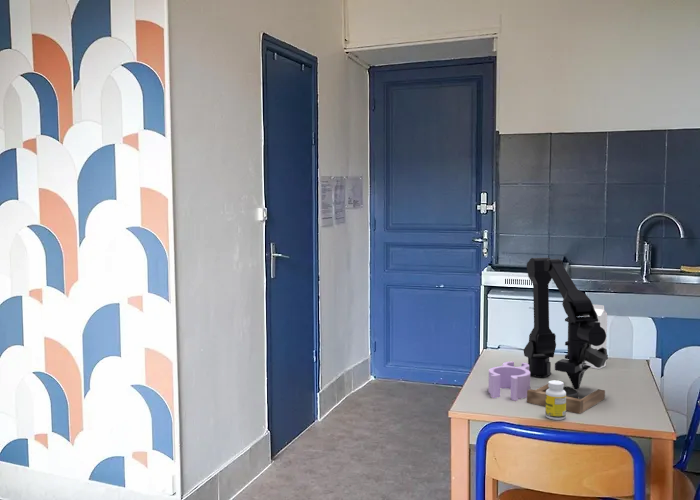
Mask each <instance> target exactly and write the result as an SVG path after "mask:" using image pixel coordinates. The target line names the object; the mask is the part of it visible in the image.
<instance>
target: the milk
mask: <svg viewBox="0 0 700 500" xmlns="http://www.w3.org/2000/svg"><path fill="white" fill-rule="evenodd" d="M592 304H593V303H592ZM593 307H594V309H595V312H596V313H597V315H598V316H597V318H598V322H600V327H602V328H603V329H604V330H605V333H606V339H605V341H604V343H603V344H601V345H600V346H594V345H591V348H593V349H597V350H599V349H600V348H602V347H603V348H605V349H607V340H608V339H607V335H608V334H607V333H608V313H607V311H606V310H605V305H603V304H602V305H601V304H593ZM583 317H586V316H583ZM585 363H586V365H588V366H591V367H590V368H589V369H596V370H601V369H603V368H604V367H606V366H607V360H606V361H605V364H604V366H601V367H600V368H598V367H595V366H594V365H593V364H591V363H589V362H587V361H585Z"/></svg>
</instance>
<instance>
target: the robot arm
mask: <svg viewBox="0 0 700 500" xmlns="http://www.w3.org/2000/svg"><path fill="white" fill-rule="evenodd" d="M526 271H527V277H528V279H529V280H530V282H531V283H532V285H533V290H532V292H533V328H532V330H531V331H530V333H529V337H528V342H527V343H526V345H525V347H524V348H523V355H524V357H526V358H527V364H529V371H530V377H531V376H532V377H537V378H542V379H544V378H546V377H549V376H550V375H552V372H551V369H552V367H551V366H552V364H551V363H552V362H551V361H550V358H554V357H555V354H556V353H555V352H556V347H557V342H556V341H557V340H556V337H557V336H556V333H554V332H553V331H552V330H551V328H550V297H549V296H550V295H549V294H550V293H549V289H550V288H549V285H550V283H551V280H552V281H553V283H554V284H555V286H556V287H557V289H558V292H559V293H560V295H561V296H562V303H561V305H562V307H563V310H564V312H565V314H566V315H567V317H566V318H564V322H567V341H565V343H564V346H567V353H566V354H565V355H564V358H562V359H560V360H558V361H556V362H555V363H554V371H556V372H557V371H558V372H563V373H566V374H567V376H568V378H569V381H570V383H571V384H572V387H573V389H575V390H577V391H578V390H580V386H581V384H582V380H583V377H584V374H585V372H586V371H587V370H589V369H591V368H590V367H591V366H588V365H586V363H585V361H587V362H589V363H591V364H593V365H594V366H595V367H598V368H600V367H601V366H604V364H605V361H606V362H607V360H608V359H609V355H608V350H607V348H606V349H605V348H603V347H602V348H600V349H599V350H597V349H593V348H591V345H594V346H600V345H601V344H603V343H604V341H605V339H606V333H605V330H604V329H603V328H602V327H600V322H598V318H597V316H598V315H597V313H596V312H595V309H594V307H593V302H592V300H591V299H590V298H589V296H588V295H587V294H586V293H585V292H583V291H581V290H580V289H578V288H577V286H576V284H575V283H574V281H573V280H572V278H571V277H570V274H569V272H568V271H567V270H566V268H565V266H564V262H563V260H562V259H559V258H550V257H531V258H530V259H529V261H527V263H526ZM584 316H586V317H584Z"/></svg>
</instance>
